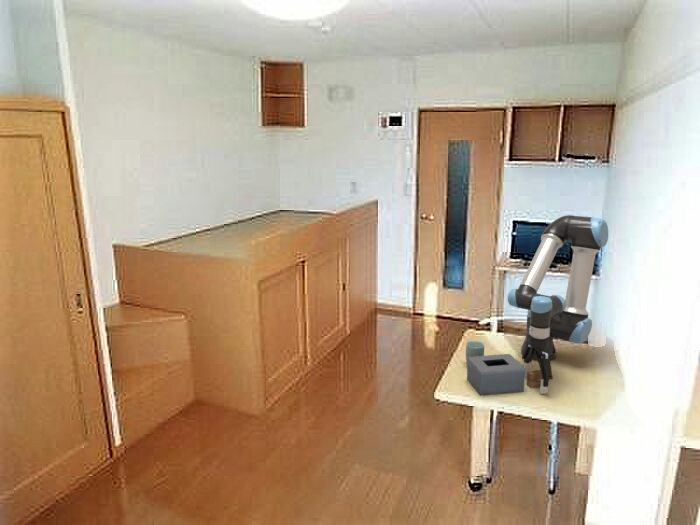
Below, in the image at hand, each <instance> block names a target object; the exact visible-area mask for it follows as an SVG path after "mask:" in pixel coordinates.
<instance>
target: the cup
mask: <svg viewBox="0 0 700 525" xmlns="http://www.w3.org/2000/svg"><path fill="white" fill-rule="evenodd" d="M465 345H466V346H465V360H466V364H467V365H468V357H476V356H485V343H483V342H481V341H478V340H471V341H470V340H469V341H467V342H466V344H465Z"/></svg>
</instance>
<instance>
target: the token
mask: <svg viewBox="0 0 700 525" xmlns="http://www.w3.org/2000/svg"><path fill="white" fill-rule="evenodd" d="M541 378H542V374H541V370H540V369H538V370H537V369H534V370H531V371H527V378H526V386H527V387H528V388H529V389H535V388H540V386H541Z"/></svg>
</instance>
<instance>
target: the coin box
mask: <svg viewBox="0 0 700 525" xmlns="http://www.w3.org/2000/svg"><path fill="white" fill-rule="evenodd" d="M524 367H525V366H523V365H522V364H521V363H520V362H519V361H518V360H517V359H516V358H514V356H512V355H511V354H510V353H502V354H491V355H489V354H488V355H484V356H476V357H468V364H467V367H466V368H467V370H466V371H467V372H466V380H467V382H469V384H470V385H471V386H472V387H473V389H474V391H476V393H477V394H478V396H481V397H482V396H491V395H493V396H494V395H501V394H502V395H504V394H513V393H514V394H515V393H524V390H525V379H526V378H525V368H524Z"/></svg>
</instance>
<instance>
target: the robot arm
mask: <svg viewBox="0 0 700 525" xmlns="http://www.w3.org/2000/svg"><path fill="white" fill-rule="evenodd" d="M540 240H541V241H540V244H539V246H538V247H537V249H536V251H535V254H534V256H533V257H532V260H531V261H530V265H529V266H528V268H527V269H526V270H527V271H526V272H525V274H524V277H523V278H522V280H521V283H520V284H519V286H518V288H512V289H511V290H510V291H509V292H508V295H507V302H508V304H509V306H511V307H514V308H517V309H522V310H527V314H526V328H525V329H526V330H525V338H524V340H523V343H522V345H521V348H520V355H522V356H521V358H522V360H523V363H524V366H523V367H524V368H525V379H527V371H532V365H533V364H532V362H533V360H534V361H536V362H537V363H538V366H539V370H541V374H542V378H541V386H540V387H539V394H541V395H543V394H544V395H545V394H548V389H549V382H550V380H553V378H554V376H553V372H552V365H551V361H552V360H555V358H556V357H557V356H556V355H557V351H556V350H557V349H556V346H555V343H554V339H559V340H562V341H565V342H569V343H574V344H579V345H580V344H582V343H584V342H585V341H587V339H588V338H589V335H590V334H591V331H592V327H593V321H592V319H591V318H590V317H589V314H590V313H589V312H588V311H587V303H588V298H589V292H590V288H591V280H592V276H593V271H594V270H593V269H594V265H595V260H596V259H595V258H596V255H597V254H598V253H600V252H601V249H602V248H603V247H606V245H607V242H608V241H609V227H608V224H607V222H606V220H605V219H603V218H599V217H594V216H580V215H572V214H567V215H563V216H560V217H558V218H557V219H554V221H552V222H551V223H550V224H548V226H546V227H545V229H544V231H543V232H542V234H541V237H540ZM567 242H568V243H571V245H570V247H571V249H572V251H573V254H572V259H571V264H570V265H571V266H570V270H569V271H570V272H569V277H568V282H567V287H566V294H565V298H564V297H563V296H562V295H560V294H552V295H551V296H550V295H545V294H540V293H538V291H539V289H540V287H541V285H542V282H543V281H544V278H545V276H546V274H547V272H548V271H549V268H550V266H551V264H552V263H553V260H554V258H555V256H556V254H557V252H558V250H559V249H560V248H562V247H563V245H564V244H565V243H567Z"/></svg>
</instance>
